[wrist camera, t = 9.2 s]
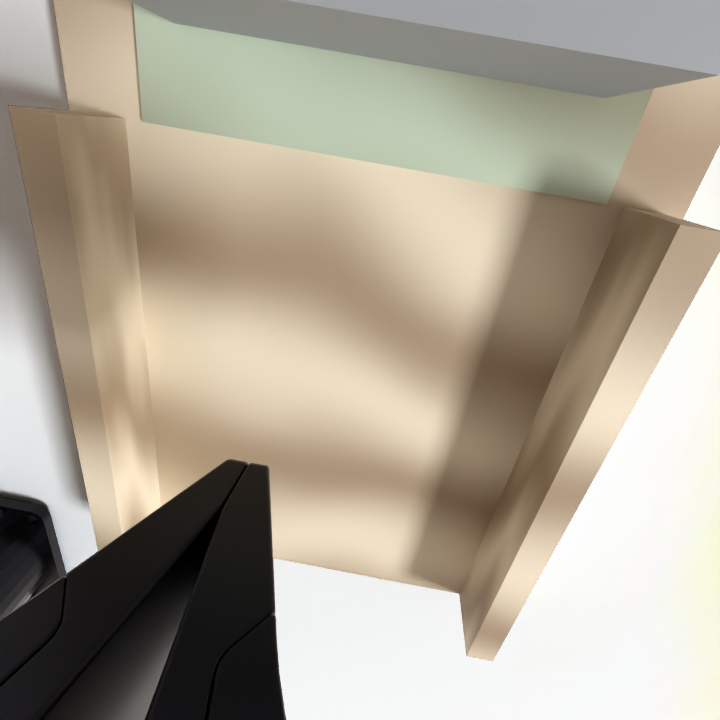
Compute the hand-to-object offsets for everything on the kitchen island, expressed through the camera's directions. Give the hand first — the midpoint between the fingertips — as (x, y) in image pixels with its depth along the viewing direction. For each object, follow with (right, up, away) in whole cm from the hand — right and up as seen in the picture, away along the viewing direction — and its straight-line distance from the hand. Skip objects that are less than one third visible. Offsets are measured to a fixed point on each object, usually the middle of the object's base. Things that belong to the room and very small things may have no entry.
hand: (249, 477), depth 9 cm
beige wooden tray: (+2, +4, +4) cm, 6 cm away
